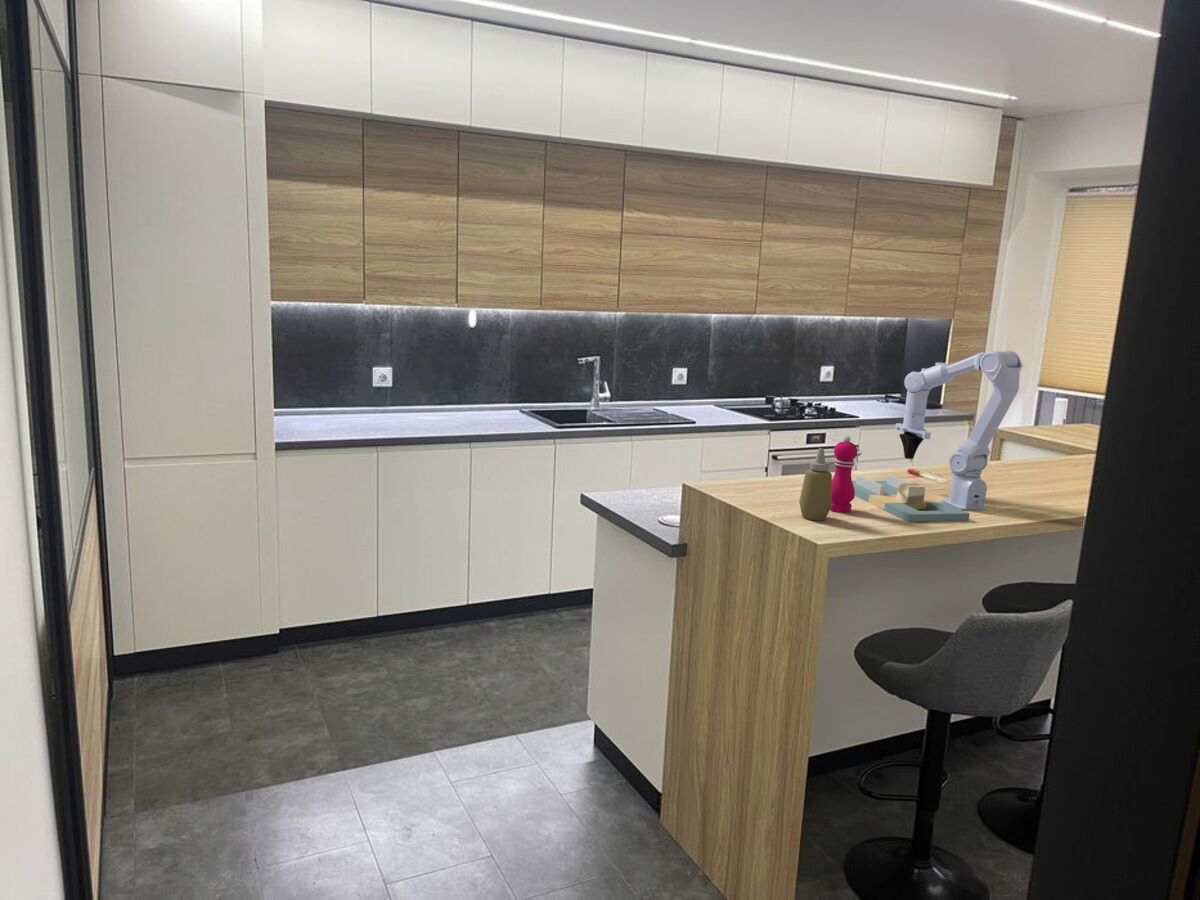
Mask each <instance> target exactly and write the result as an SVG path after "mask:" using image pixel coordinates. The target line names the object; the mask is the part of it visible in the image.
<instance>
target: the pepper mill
mask: <svg viewBox="0 0 1200 900" xmlns="http://www.w3.org/2000/svg"><path fill="white" fill-rule="evenodd" d="M851 440H852V438H851V436H849V435H845V436H844V437H843V441H839V442H838V443H836V444H835V446H834V448H833V455H834V456H835V457H836V458H835V459H834V465H835V471H834V475H833V476H832V506H831V509H830V510H831V512H834V511H835V513H839V512H842V513H843V514H845V513H846V514H847V513H851V511H852V507H853V505H852V503H851V502H852V501H853V500H854V499H855V490H854V486H853V483H852V481H853V480H852V470H853V467H854V466H855V459H856V457H857V456H858V447H857V446H856V444H855V443H853V442H851Z"/></svg>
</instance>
